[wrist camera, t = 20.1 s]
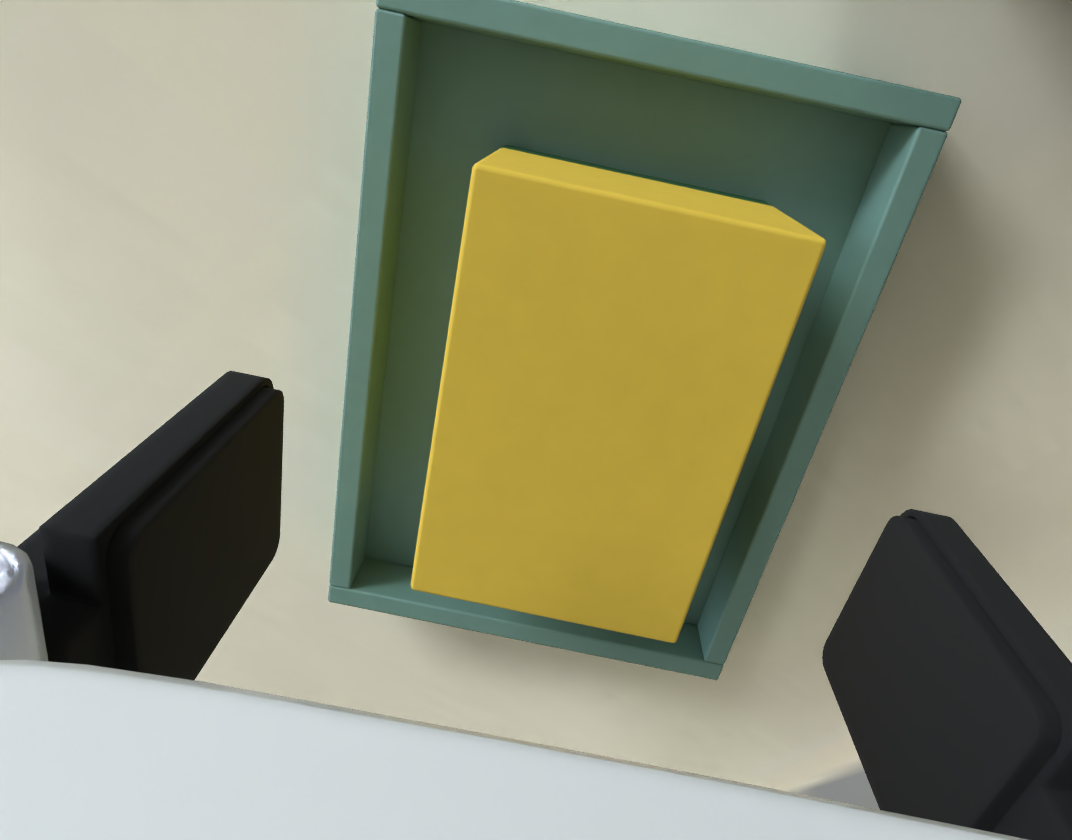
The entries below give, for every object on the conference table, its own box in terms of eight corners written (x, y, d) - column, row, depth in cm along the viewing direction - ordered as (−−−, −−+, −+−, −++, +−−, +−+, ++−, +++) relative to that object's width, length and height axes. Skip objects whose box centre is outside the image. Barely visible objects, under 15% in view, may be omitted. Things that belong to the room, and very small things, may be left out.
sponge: (503, 143, 15) (472, 162, 11) (767, 200, 15) (830, 240, 11) (447, 486, 19) (409, 591, 15) (658, 529, 19) (676, 645, 15)
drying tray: (404, -16, 15) (378, -30, 13) (919, 97, 15) (964, 98, 13) (349, 558, 21) (327, 602, 19) (707, 632, 21) (717, 681, 20)
